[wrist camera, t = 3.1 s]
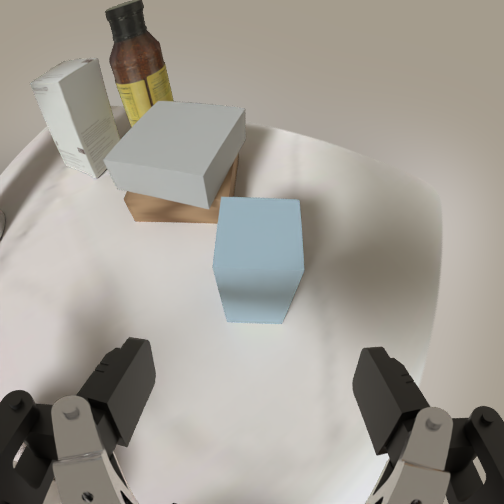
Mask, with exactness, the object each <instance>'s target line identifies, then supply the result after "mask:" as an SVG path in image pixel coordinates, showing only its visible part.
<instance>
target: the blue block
mask: <svg viewBox="0 0 504 504" xmlns="http://www.w3.org/2000/svg"><path fill="white" fill-rule="evenodd" d="M213 271H214V275H215V278H216V282H217V286H218V290H219V293H220V297H221V301H222V305H223V308H224V312H225V315H226V319H227V322H238V323H265V324H282V322H283V320H284V318H285V315H286V313H287V311H288V309H289V306H290V304H291V302H292V299H293V297H294V294H295V292H296V290H297V287H298V285H299V282H300V280H301V278H302V275H303V273H304V255H303V240H302V226H301V213H300V202H299V200H295V199H275V198H250V197H221V202H220V210H219V218H218V225H217V234H216V242H215V250H214V259H213Z"/></svg>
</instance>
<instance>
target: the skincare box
mask: <svg viewBox="0 0 504 504" xmlns="http://www.w3.org/2000/svg"><path fill="white" fill-rule="evenodd" d="M30 85H31V87H32V89H33V92H34V95H35V97H36V100H37V102H38V104H39V107H40V110H41V112H42V115H43V117H44V120H45V122H46V124H47V127H48V129H49V131H50V133H51V136H52V138H53V140H54V142H55V144H56V146H57V148H58V150H59V152H60V154H61V156H62V158H63V161H64V163H65V165H66V166H67V167H70V168H74V169H76V170H79V171H81V172H84V173H86V174H88V175H90V176H92V177H93V178H98V177H99V176H100V175H101V174H102V173H103V172H104V171H105V170H106V169H107V167H106V165H105V163H104V161H103V160H104V158H105V157H106V156H107V155H108V154H109V152H110V151H111V150H112V149H113V148H114V146H115V145H116V144H117V143H118V142H119V141H120V137H119V134H118V131H117V127H116V124H115V121H114V117H113V114H112V111H111V107H110V104H109V100H108V96H107V93H106V89H105V85H104V81H103V77H102V73H101V69H100V65H99V60H98V58H89V59H75V60H69V61H64V62H62V63H60V64H58V65H56V66H55V67H53V68H52V69H50V70H49V71H48V72H46V73H44V74H43V75H41V76H40V77H38V78H37V79H35V80H34V81H32V82H31V83H30Z"/></svg>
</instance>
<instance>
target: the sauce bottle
mask: <svg viewBox="0 0 504 504" xmlns="http://www.w3.org/2000/svg"><path fill="white" fill-rule="evenodd" d="M143 8H144V5H143V3H142V0H132V1H129V2H125V3H122V4H119V5H117V6H114V7H112V8H109V9H107V10H106V11H105V13H106V18H107V20H108V21H109V23H110V26H111V30H112V34H113V41H114V46H113V49H112V52H111V55H110V65H111V68H112V71H113V74H114V77H115V82H116V85H117V88H118V91H119V94H120V97H121V99H122V102H123V105H124V108H125V111H126V114H127V116H128V119H129V122H130V125H131V127H133V125H134V124H135V123H136V122H137V121H138V120H139V119H140V118H141V117H142V116H143V115H144V114H145V113H146V112H147V111H148V110H149V109H150V108H151V107H152V106H153V105H154V104H155V103H156V102H157V101H173V96H172V92H171V87H170V83H169V79H168V74H167V70H166V66H165V62H164V61H163V57H162V52H161V47H160V43H159V42H158V41H157V40H156V39H155V38H154V37H153V36H152V35H151V34H150V33H149V32H148V31H147V27H146V26H145V21H144V17H143Z"/></svg>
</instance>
